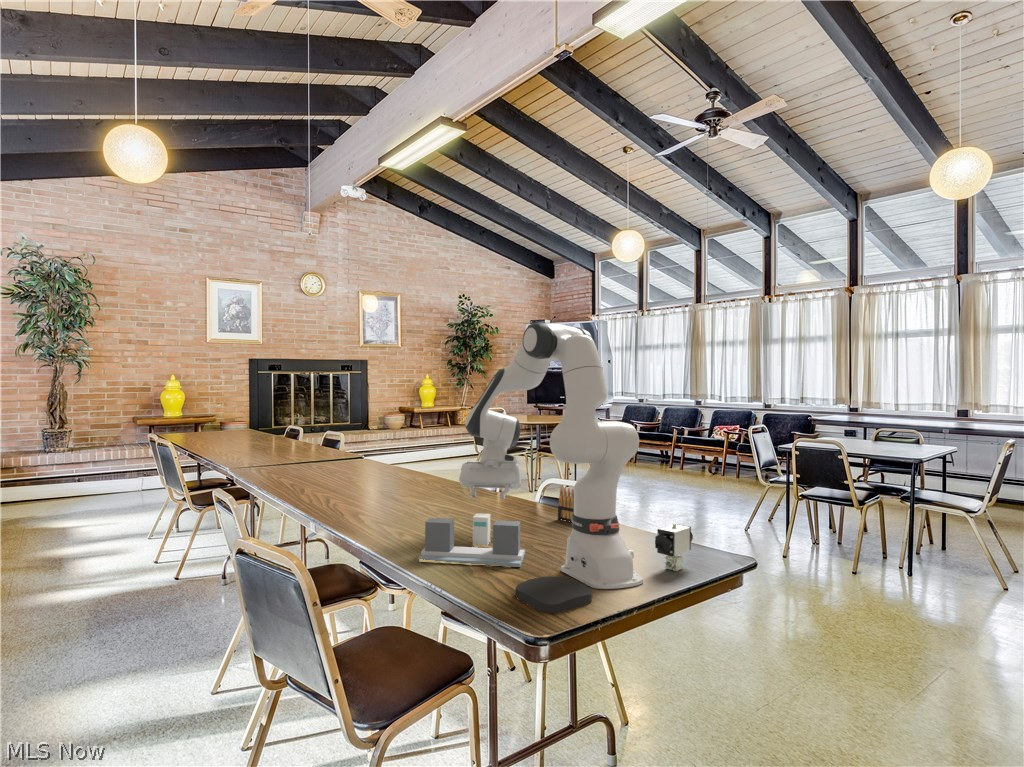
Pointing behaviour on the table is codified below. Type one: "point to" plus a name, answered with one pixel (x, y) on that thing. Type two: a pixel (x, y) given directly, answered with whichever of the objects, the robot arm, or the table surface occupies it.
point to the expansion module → (481, 529)
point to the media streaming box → (553, 594)
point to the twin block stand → (501, 554)
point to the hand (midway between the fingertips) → (487, 497)
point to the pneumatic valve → (673, 544)
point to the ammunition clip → (566, 504)
